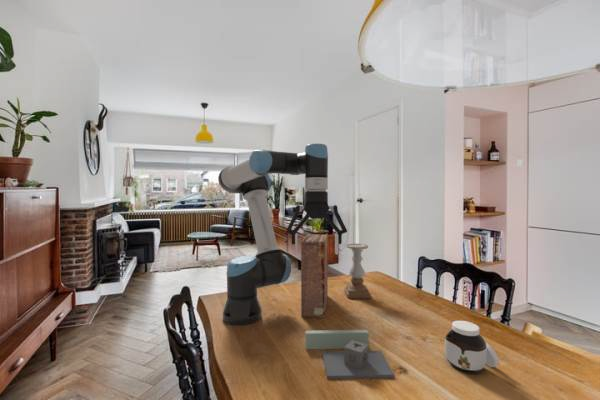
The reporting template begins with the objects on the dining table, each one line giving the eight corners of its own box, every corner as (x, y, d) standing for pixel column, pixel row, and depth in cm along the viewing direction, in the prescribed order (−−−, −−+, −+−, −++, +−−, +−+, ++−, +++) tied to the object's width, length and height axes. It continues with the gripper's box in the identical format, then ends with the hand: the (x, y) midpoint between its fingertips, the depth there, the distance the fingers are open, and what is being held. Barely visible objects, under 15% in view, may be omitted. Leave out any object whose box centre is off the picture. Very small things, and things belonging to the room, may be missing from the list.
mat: (327, 378, 79) (327, 375, 79) (322, 354, 91) (322, 351, 91) (394, 377, 80) (394, 374, 80) (380, 353, 92) (380, 350, 92)
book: (308, 295, 143) (308, 232, 143) (327, 295, 142) (327, 233, 141) (301, 317, 118) (301, 241, 117) (324, 318, 117) (324, 242, 116)
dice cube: (368, 362, 86) (368, 344, 85) (360, 370, 82) (360, 352, 81) (352, 356, 89) (352, 339, 88) (344, 364, 84) (344, 346, 84)
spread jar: (440, 362, 87) (441, 323, 86) (458, 350, 94) (459, 313, 93) (486, 383, 77) (487, 339, 77) (502, 367, 84) (503, 327, 84)
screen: (305, 349, 94) (305, 333, 94) (305, 345, 96) (305, 330, 96) (368, 348, 95) (368, 332, 94) (367, 344, 97) (367, 329, 96)
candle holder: (371, 298, 138) (371, 247, 138) (347, 298, 138) (347, 247, 138) (366, 290, 149) (366, 243, 148) (344, 290, 149) (344, 243, 149)
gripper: (278, 190, 96) (278, 256, 96) (355, 190, 96) (355, 256, 97) (279, 190, 103) (279, 251, 104) (351, 190, 104) (351, 251, 104)
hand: (316, 254), depth 100 cm, fingers open, 13 cm apart
